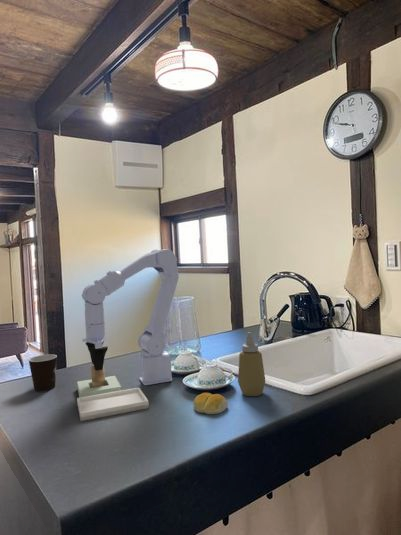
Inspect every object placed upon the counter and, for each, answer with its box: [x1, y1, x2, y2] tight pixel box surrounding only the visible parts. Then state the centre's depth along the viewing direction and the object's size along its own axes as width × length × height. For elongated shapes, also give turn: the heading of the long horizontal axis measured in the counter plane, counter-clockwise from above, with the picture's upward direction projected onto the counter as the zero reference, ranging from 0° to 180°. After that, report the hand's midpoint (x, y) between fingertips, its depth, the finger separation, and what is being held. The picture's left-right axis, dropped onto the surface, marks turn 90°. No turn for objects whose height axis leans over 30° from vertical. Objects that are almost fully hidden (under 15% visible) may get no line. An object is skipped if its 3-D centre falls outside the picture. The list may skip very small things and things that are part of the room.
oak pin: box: [90, 364, 106, 388], centre depth 121 cm, size 4×4×8 cm
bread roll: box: [193, 392, 229, 415], centre depth 105 cm, size 8×9×4 cm
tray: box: [76, 387, 150, 422], centre depth 109 cm, size 18×12×2 cm, turn 111°
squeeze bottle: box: [237, 331, 266, 397], centre depth 114 cm, size 8×8×18 cm
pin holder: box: [76, 375, 122, 398], centre depth 121 cm, size 12×12×2 cm
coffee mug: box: [28, 354, 58, 393], centre depth 129 cm, size 12×9×10 cm
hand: (97, 366), depth 121 cm, fingers open, 7 cm apart
